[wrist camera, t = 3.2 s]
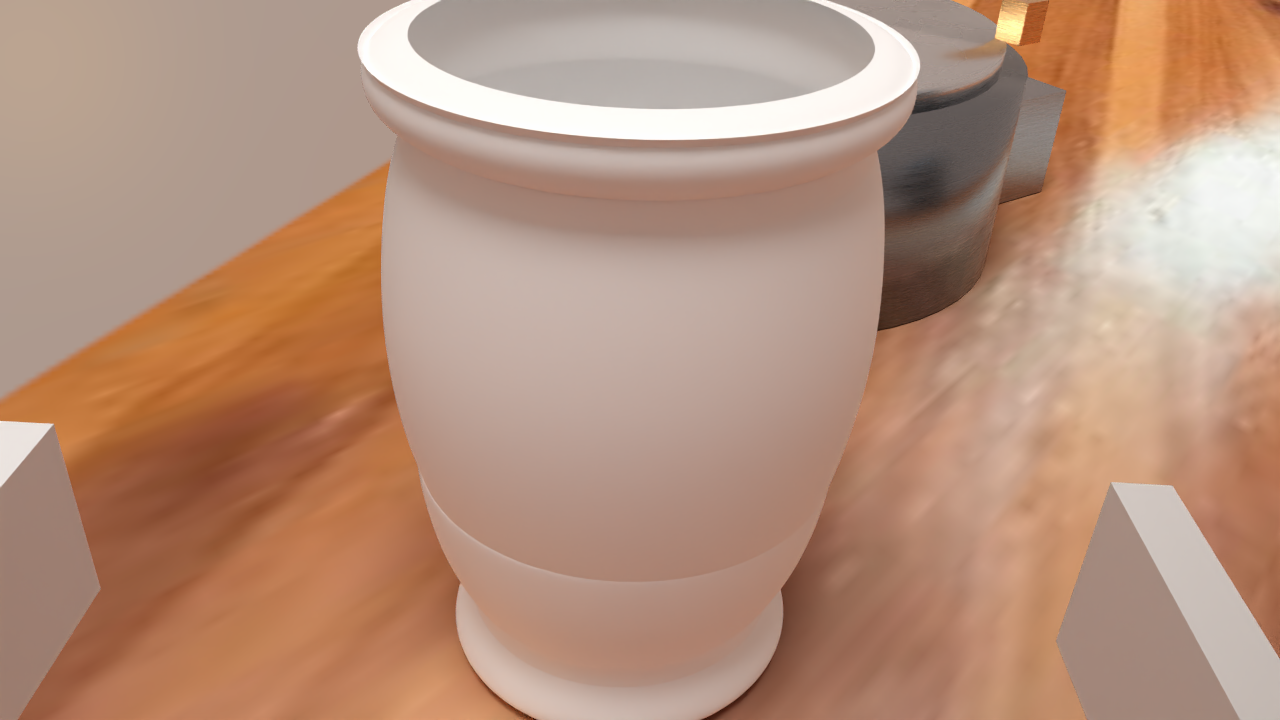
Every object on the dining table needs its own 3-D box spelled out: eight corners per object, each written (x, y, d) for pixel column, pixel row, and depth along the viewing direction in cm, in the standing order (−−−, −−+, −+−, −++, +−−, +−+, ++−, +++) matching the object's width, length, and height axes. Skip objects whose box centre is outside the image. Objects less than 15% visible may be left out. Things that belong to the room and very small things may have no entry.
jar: (698, 868, 22) (774, 186, 14) (325, 659, 27) (224, 43, 19) (881, 567, 30) (996, 16, 22) (569, 442, 35) (571, -57, 27)
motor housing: (844, 104, 63) (872, -93, 57) (1149, 239, 49) (1225, -4, 43) (453, 185, 51) (440, -53, 45) (708, 393, 37) (734, 87, 32)
